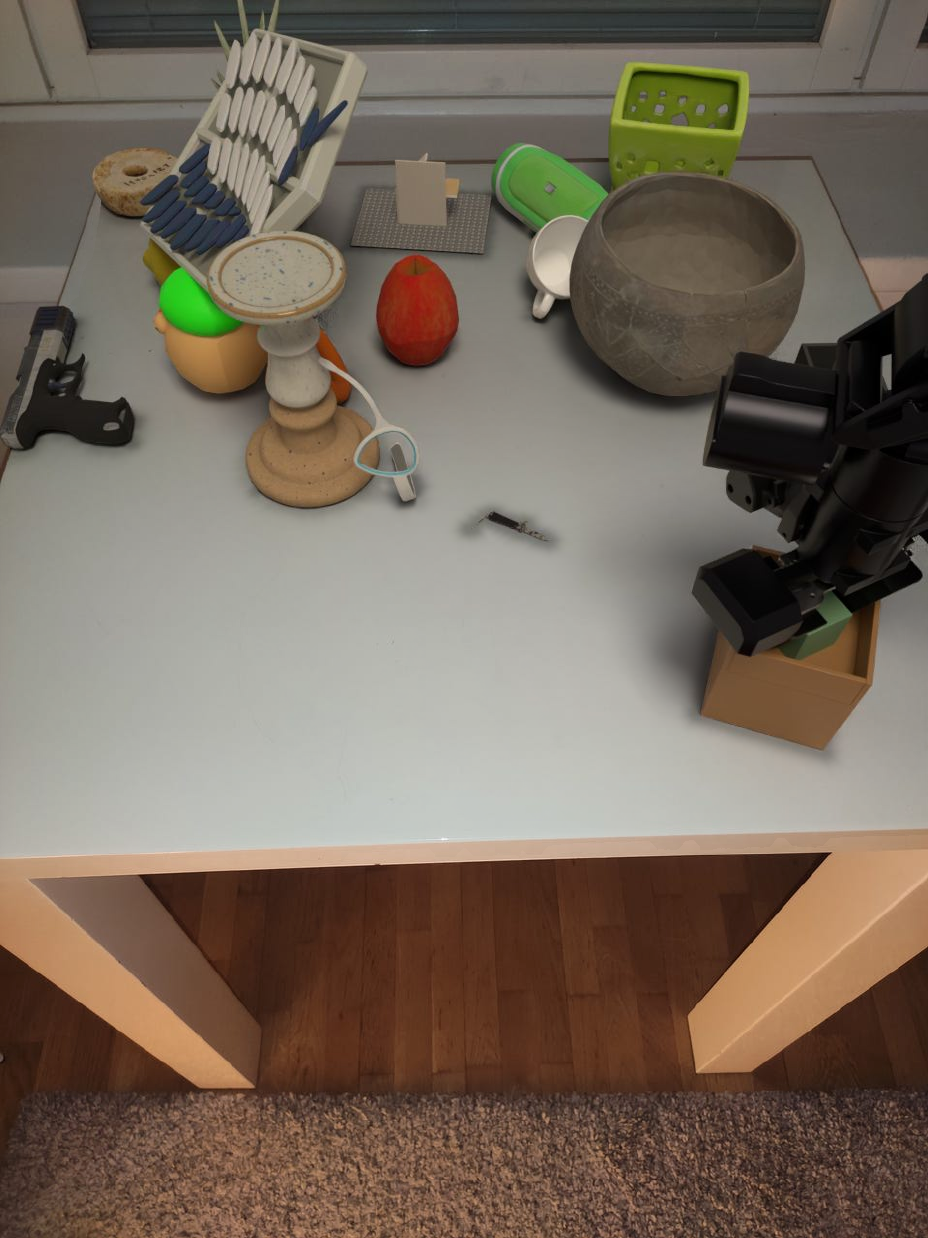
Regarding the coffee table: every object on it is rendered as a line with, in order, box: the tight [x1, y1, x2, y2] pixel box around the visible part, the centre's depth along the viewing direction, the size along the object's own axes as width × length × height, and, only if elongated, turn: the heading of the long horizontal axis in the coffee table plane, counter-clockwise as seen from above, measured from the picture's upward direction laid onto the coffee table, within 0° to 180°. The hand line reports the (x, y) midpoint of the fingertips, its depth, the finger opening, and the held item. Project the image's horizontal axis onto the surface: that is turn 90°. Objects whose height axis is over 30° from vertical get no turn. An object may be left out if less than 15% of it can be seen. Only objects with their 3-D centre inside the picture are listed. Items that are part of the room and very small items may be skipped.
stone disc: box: [91, 147, 178, 217], centre depth 107 cm, size 10×4×10 cm
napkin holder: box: [393, 152, 461, 226], centre depth 103 cm, size 3×7×7 cm, turn 84°
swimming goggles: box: [318, 357, 421, 502], centre depth 78 cm, size 14×8×6 cm
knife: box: [471, 510, 549, 541], centre depth 80 cm, size 6×1×3 cm
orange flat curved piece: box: [255, 324, 352, 403], centre depth 84 cm, size 10×2×15 cm
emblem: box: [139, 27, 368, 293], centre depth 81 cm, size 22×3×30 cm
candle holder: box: [207, 230, 381, 508], centre depth 76 cm, size 12×12×20 cm
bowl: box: [569, 171, 806, 397], centre depth 86 cm, size 21×21×15 cm
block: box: [779, 591, 852, 661], centre depth 64 cm, size 4×4×4 cm
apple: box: [375, 254, 460, 367], centre depth 88 cm, size 8×8×11 cm
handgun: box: [0, 305, 135, 450], centre depth 90 cm, size 3×19×12 cm
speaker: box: [490, 142, 610, 234], centre depth 101 cm, size 18×7×8 cm
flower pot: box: [607, 61, 750, 194], centre depth 101 cm, size 14×14×13 cm
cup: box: [525, 215, 588, 320], centre depth 95 cm, size 8×10×7 cm
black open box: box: [793, 342, 889, 452], centre depth 85 cm, size 9×6×6 cm
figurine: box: [153, 267, 268, 395], centre depth 86 cm, size 11×10×12 cm
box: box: [699, 544, 882, 751], centre depth 67 cm, size 9×9×10 cm
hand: (798, 630), depth 65 cm, fingers closed on block, 4 cm apart
